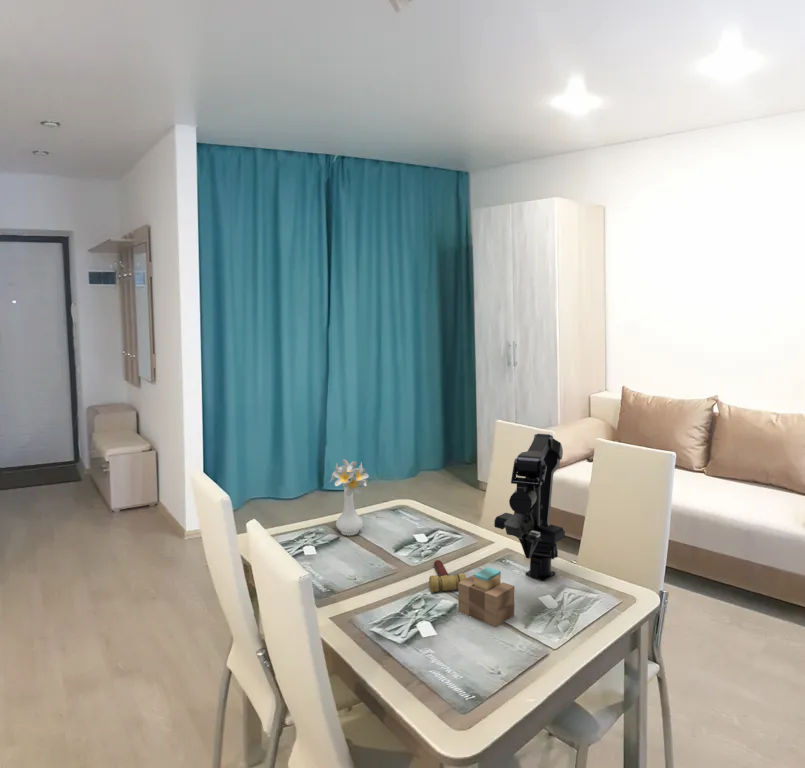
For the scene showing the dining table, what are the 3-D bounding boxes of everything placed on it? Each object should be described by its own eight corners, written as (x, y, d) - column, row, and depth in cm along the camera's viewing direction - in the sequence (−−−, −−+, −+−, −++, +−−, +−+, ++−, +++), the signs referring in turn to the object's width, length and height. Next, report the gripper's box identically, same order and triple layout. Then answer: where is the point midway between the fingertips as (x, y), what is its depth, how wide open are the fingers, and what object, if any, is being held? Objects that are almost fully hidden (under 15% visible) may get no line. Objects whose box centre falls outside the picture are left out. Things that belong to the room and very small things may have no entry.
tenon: (487, 605, 177) (488, 567, 175) (500, 610, 174) (500, 571, 173) (474, 614, 173) (474, 574, 171) (486, 619, 170) (486, 578, 168)
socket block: (476, 600, 180) (476, 572, 179) (514, 615, 172) (514, 586, 171) (458, 611, 174) (458, 582, 173) (496, 627, 166) (496, 596, 165)
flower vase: (343, 545, 220) (341, 472, 217) (324, 528, 237) (322, 459, 233) (379, 538, 226) (378, 466, 222) (358, 521, 242) (356, 454, 239)
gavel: (420, 554, 205) (452, 552, 206) (420, 568, 205) (452, 566, 206) (431, 579, 184) (467, 576, 185) (431, 595, 184) (467, 592, 186)
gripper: (482, 501, 177) (482, 557, 179) (543, 517, 164) (542, 577, 166) (506, 492, 185) (505, 545, 187) (566, 506, 172) (565, 563, 174)
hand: (528, 558), depth 178 cm, fingers closed
